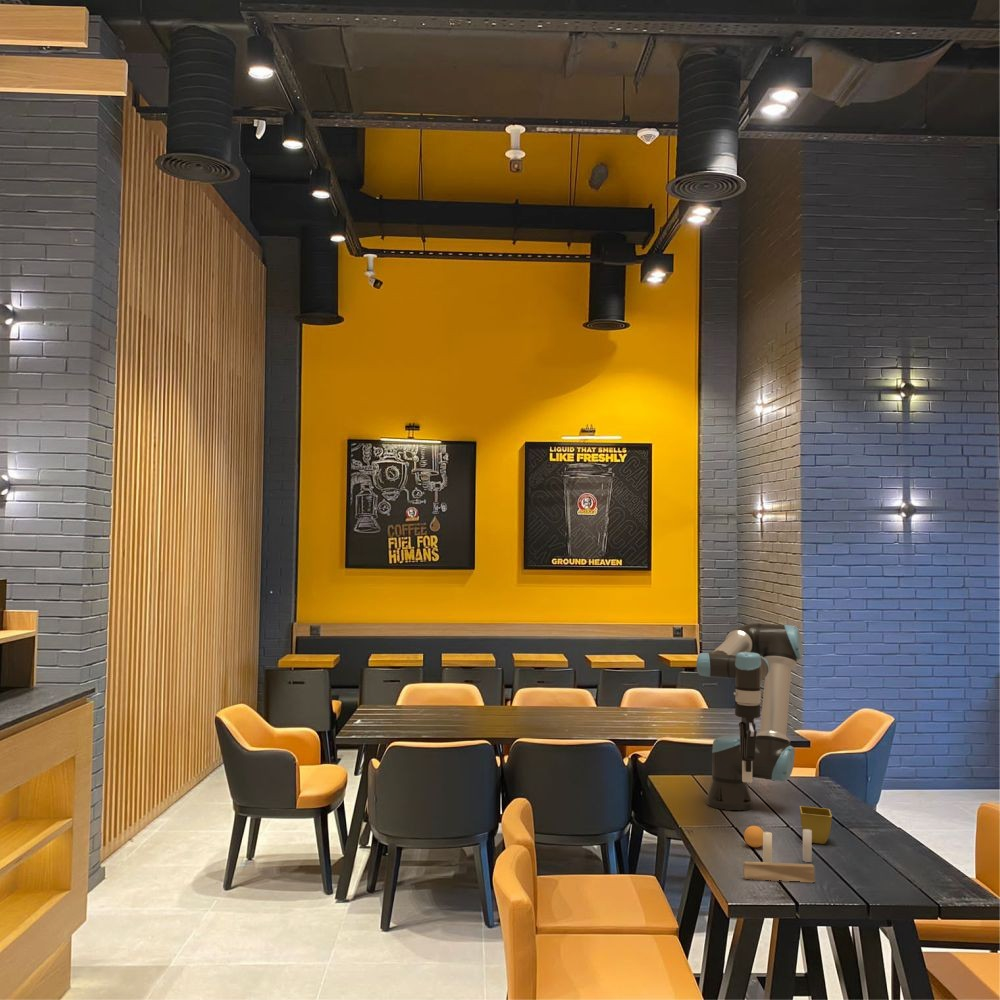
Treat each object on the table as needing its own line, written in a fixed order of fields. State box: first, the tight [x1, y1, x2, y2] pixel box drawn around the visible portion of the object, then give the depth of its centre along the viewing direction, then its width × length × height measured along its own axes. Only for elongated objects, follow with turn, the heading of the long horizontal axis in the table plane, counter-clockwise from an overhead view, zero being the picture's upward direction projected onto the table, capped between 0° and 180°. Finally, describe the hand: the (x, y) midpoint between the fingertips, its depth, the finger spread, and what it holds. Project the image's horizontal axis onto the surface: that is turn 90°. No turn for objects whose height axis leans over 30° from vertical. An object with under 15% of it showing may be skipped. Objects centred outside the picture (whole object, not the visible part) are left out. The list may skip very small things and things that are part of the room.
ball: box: [743, 825, 765, 848], centre depth 264 cm, size 6×6×6 cm
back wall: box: [742, 861, 816, 883], centre depth 237 cm, size 2×18×4 cm, turn 87°
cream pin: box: [762, 831, 773, 863], centre depth 249 cm, size 2×2×8 cm
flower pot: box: [799, 805, 833, 845], centre depth 271 cm, size 9×9×9 cm
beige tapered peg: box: [802, 829, 813, 863], centre depth 252 cm, size 2×2×8 cm
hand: (747, 781), depth 275 cm, fingers closed
